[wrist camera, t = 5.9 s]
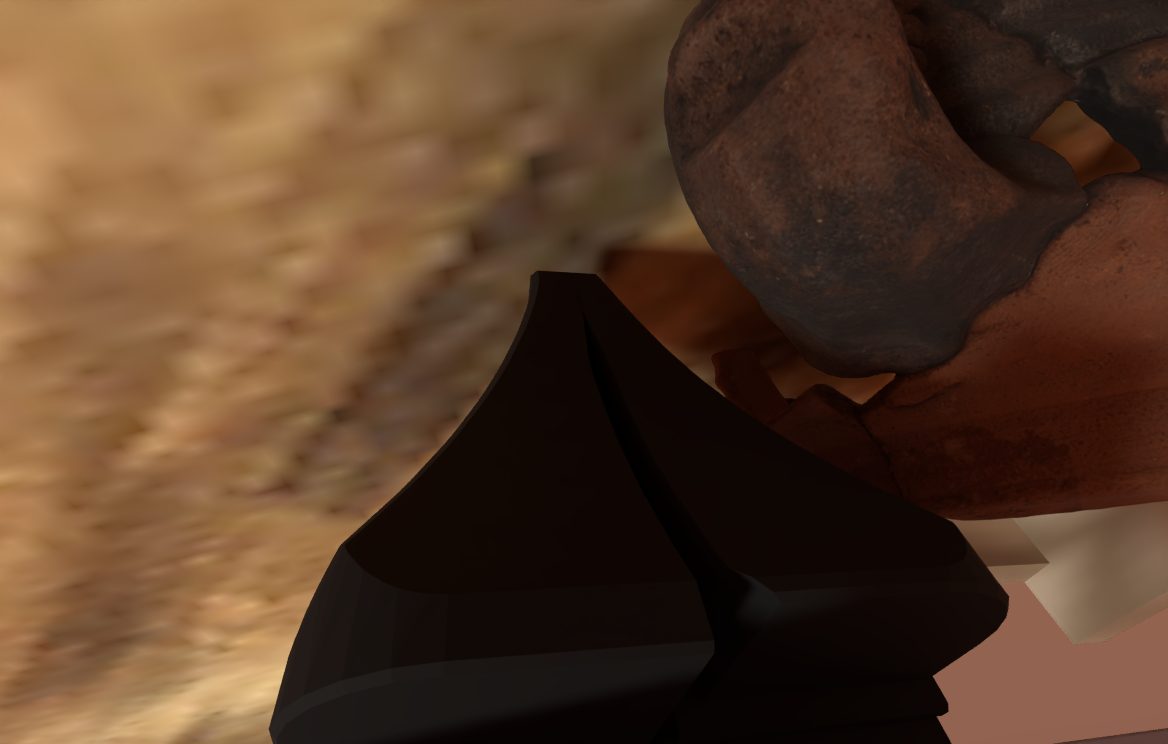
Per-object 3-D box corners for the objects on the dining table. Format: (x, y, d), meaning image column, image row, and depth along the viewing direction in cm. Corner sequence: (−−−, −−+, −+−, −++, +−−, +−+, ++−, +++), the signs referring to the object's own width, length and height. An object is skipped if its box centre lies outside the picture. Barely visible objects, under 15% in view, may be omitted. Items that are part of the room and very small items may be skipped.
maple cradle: (991, 505, 20) (1105, 641, 16) (571, 516, 17) (592, 688, 13) (1652, -108, 9) (2497, -121, 5) (775, -404, 6) (1293, -980, 2)
